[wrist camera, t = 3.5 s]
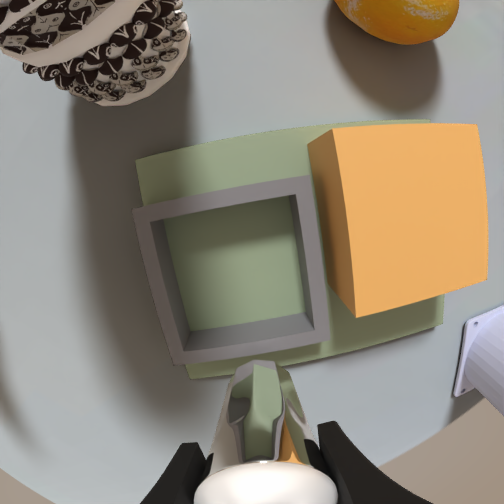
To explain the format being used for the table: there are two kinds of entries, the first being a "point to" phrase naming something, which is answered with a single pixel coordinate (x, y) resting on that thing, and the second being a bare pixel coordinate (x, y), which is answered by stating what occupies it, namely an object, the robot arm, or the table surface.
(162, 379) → the table surface
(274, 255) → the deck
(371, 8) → the fruit
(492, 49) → the table surface
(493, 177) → the table surface
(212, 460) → the milkshake
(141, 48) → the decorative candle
